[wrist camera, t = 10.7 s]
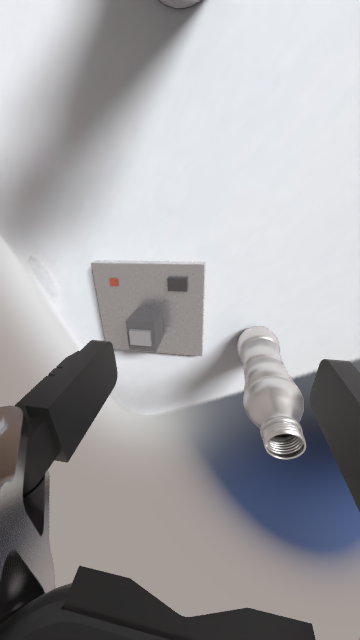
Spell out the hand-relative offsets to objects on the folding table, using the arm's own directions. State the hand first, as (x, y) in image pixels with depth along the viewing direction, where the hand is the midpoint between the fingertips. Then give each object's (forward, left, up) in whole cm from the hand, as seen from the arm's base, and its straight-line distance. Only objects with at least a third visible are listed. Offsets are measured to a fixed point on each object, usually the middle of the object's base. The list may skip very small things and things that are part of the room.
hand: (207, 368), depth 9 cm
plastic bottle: (+14, +7, -28) cm, 32 cm away
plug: (+11, -11, -28) cm, 32 cm away
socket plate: (+9, -11, -28) cm, 31 cm away
